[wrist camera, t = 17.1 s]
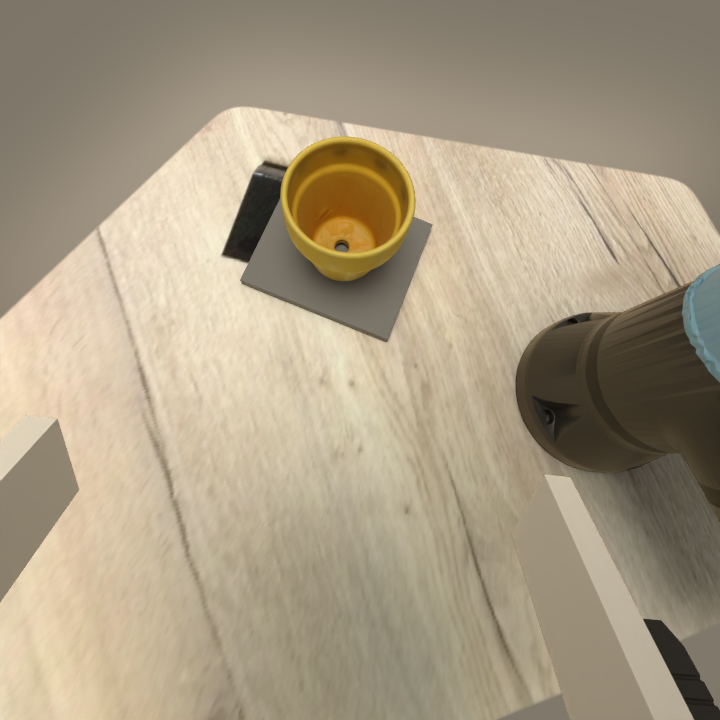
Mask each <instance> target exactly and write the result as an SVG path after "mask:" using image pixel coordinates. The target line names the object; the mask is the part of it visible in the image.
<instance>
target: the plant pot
mask: <svg viewBox="0 0 720 720" xmlns="http://www.w3.org/2000/svg"><path fill="white" fill-rule="evenodd" d="M281 206H282V211H283V216H284V221H285V224H286V228H287V231H288V233H289V236H290V238H291V240H292V242H293V243H294V245H295V246H296V248H297V249H298V250H299V251H300V252H301V253H302V254H303V255H304V256H305V257H306V258H307V259H308V260H310V261H311V262H312V263H313V265H314V266H315V268H316V269H317V270H318V271H319V272H320V273H321V274H323V275H324V276H326V277H327V278H330V279H332V280H336V281H353V280H356V279H359V278H361V277H363V276H364V275H366V274H367V273H368V272H369V271H370V270H371V269H374V268H377V267H378V266H380V265H382V264H384V263H385V262H386V261H388V260H389V259H390V258H391V257H392V256H393V255H394V254H395V253H396V252H397V251H398V249H399V248H400V246H401V244H402V243H403V241H404V239H405V237H406V235H407V233H408V230H409V228H410V225H411V223H412V220H413V216H414V212H415V191H414V187H413V183H412V180H411V178H410V176H409V174H408V172H407V170H406V169H405V167H404V166H403V164H402V163H401V162H400V161H399V160H398V159H397V158H396V157H395V156H394V155H393V154H392V153H391V152H389V151H388V150H386V149H385V148H383V147H381V146H380V145H378V144H375V143H373V142H371V141H368V140H365V139H361V138H355V137H334V138H328V139H325V140H321V141H318V142H316V143H314V144H312V145H310V146H308V147H307V148H306V149H304V150H303V151H302V152H300V153H299V154H298V155H297V156H296V157H295V158H294V160H293V161H292V162H291V164H290V165H289V167H288V169H287V171H286V173H285V175H284V178H283V181H282V186H281ZM338 243H344V244H346V245H347V246H348V251H347V252H339V251H336V249H335V246H336V245H337V244H338Z"/></svg>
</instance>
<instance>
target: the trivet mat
mask: <svg viewBox="0 0 720 720" xmlns="http://www.w3.org/2000/svg"><path fill="white" fill-rule="evenodd" d="M431 227H432V224H430V223H428V222H425V221H423V220H420V219H418V218H415V217H413V220H412V223H411V225H410V228H409V230H408V233H407V235H406V237H405V239H404V241H403V243H402V244H401V246H400V248H399V249H398V251H397V252H396V253H395V254H394V255H393V256H392V257H391V258H390V259H389V260H388V261H386V262H385V263H384V264H382V265H380V266H378V267H377V268H374V269H371V270H370V271H369V272H368V273H367V274H366V275H364V276H363V277H361V278H359V279H356V280H353V281H336V280H332V279H330V278H327V277H326V276H324V275H323V274H321V273H320V272H319V271H318V270H317V269H316V268H315V266H314V265H313V263H312V262H311V261H310V260H308V259H307V258H306V257H305V256H304V255H303V254H302V253H301V252H300V251H299V250H298V249H297V248H296V246H295V245H294V243H293V242H292V240H291V238H290V236H289V233H288V231H287V228H286V224H285V221H284V216H283V211H282V206H281V198H280V200H279V202H278V204H277V206H276V208H275V210H274V212H273V214H272V216H271V218H270V220H269V222H268V225H267V227H266V229H265V231H264V233H263V235H262V237H261V239H260V241H259V243H258V245H257V247H256V249H255V251H254V253H253V255H252V257H251V259H250V261H249V263H248V265H247V267H246V269H245V271H244V273H243V275H242V277H241V279H240V280H241V282H242V284H244V285H247V286H249V287H251V288H254V289H256V290H259V291H261V292H264V293H266V294H269V295H271V296H274V297H276V298H279V299H281V300H284V301H286V302H289V303H291V304H294V305H296V306H298V307H301V308H303V309H306V310H308V311H311V312H313V313H316V314H318V315H321V316H323V317H326V318H328V319H331V320H333V321H336V322H338V323H340V324H343V325H345V326H348V327H350V328H353V329H355V330H358V331H360V332H363V333H365V334H368V335H370V336H373V337H375V338H378V339H380V340H383V341H385V342H387V340H388V338H389V335H390V333H391V330H392V327H393V325H394V322H395V320H396V317H397V315H398V312H399V309H400V307H401V304H402V302H403V299H404V297H405V294H406V292H407V289H408V286H409V284H410V281H411V279H412V276H413V274H414V271H415V268H416V266H417V263H418V261H419V258H420V256H421V253H422V251H423V248H424V245H425V243H426V240H427V238H428V235H429V233H430V230H431ZM335 249H336V251H339V252H347V251H348V246H347V245H346V244H344V243H338V244H337V245H336V246H335Z"/></svg>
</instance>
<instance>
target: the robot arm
mask: <svg viewBox="0 0 720 720" xmlns="http://www.w3.org/2000/svg"><path fill="white" fill-rule="evenodd" d="M516 392H517V400H518V404H519V408H520V411H521V414H522V417H523V419H524V422H525V424H526V426H527V427H528V429H529V431H530V432H531V434H532V435H533V437H534V438H535V439H536V441H537V442H538V443H539V444H540V445H541V446H542V447H543V448H544V449H545V450H546V451H547V452H548V453H550V454H551V455H552V456H554V457H555V458H557V459H558V460H560V461H562V462H563V463H565V464H568V465H570V466H572V467H575V468H578V469H582V470H587V471H596V472H622V471H628V470H632V469H635V468H638V467H640V466H643V465H645V464H646V463H648V462H650V461H652V460H654V459H657V458H659V457H661V456H664V455H666V454H668V453H681V454H682V455H683V457H684V459H685V461H686V462H687V464H688V466H689V468H690V469H691V471H692V473H693V475H694V476H695V478H696V480H697V481H698V483H699V485H700V487H701V488H702V490H703V492H704V494H705V496H706V498H707V500H708V502H709V503H710V505H711V507H712V509H713V510H714V512H715V514H716V516H717V518H718V519H719V521H720V264H719V265H717V266H715V267H713V268H711V269H709V270H707V271H706V272H704V273H702V274H701V275H699V276H698V277H697V278H696V280H695V281H692V282H690V283H688V284H685V285H683V286H681V287H679V288H676V289H674V290H672V291H669V292H667V293H665V294H663V295H660V296H658V297H656V298H653V299H651V300H649V301H647V302H644V303H642V304H640V305H637V306H635V307H633V308H630V309H629V310H627V311H624V312H602V313H583V314H577V315H573V316H570V317H567V318H565V319H562V320H561V321H559V322H557V323H555V324H553V325H551V326H549V327H547V328H546V329H544V330H543V331H542V332H540V333H539V334H538V335H537V336H536V337H535V338H534V339H533V340H532V341H531V342H530V344H529V345H528V347H527V348H526V350H525V352H524V354H523V356H522V358H521V361H520V364H519V367H518V372H517V379H516ZM78 491H79V487H78V484H77V481H76V477H75V474H74V471H73V468H72V464H71V461H70V458H69V455H68V451H67V448H66V445H65V442H64V438H63V435H62V432H61V429H60V425H59V422H58V419H57V418H49V417H40V416H31V415H26V416H25V417H24V418H23V419H22V420H21V421H20V422H19V423H18V424H17V425H16V426H15V427H14V428H13V429H12V430H11V431H10V432H9V433H8V434H7V435H6V436H5V437H4V438H3V439H2V440H1V441H0V602H1V601H2V599H3V598H4V596H5V595H6V593H7V592H8V591H9V589H10V588H11V586H12V585H13V583H14V582H15V581H16V579H17V578H18V576H19V575H20V573H21V572H22V571H23V569H24V568H25V566H26V565H27V563H28V562H29V561H30V559H31V558H32V556H33V555H34V553H35V552H36V551H37V549H38V548H39V546H40V545H41V543H42V542H43V541H44V539H45V538H46V536H47V535H48V533H49V532H50V531H51V529H52V528H53V526H54V525H55V523H56V522H57V521H58V519H59V518H60V516H61V515H62V514H63V512H64V511H65V509H66V508H67V506H68V505H69V504H70V502H71V501H72V499H73V498H74V496H75V495H76V494H77V492H78ZM512 538H513V541H514V544H515V548H516V551H517V554H518V557H519V560H520V563H521V566H522V570H523V573H524V576H525V579H526V582H527V585H528V589H529V592H530V595H531V598H532V601H533V604H534V608H535V611H536V614H537V617H538V620H539V623H540V627H541V630H542V633H543V636H544V639H545V642H546V645H547V649H548V652H549V655H550V658H551V661H552V664H553V668H554V671H555V674H556V677H557V680H558V683H559V687H560V690H561V693H562V696H563V699H564V702H565V705H566V709H567V712H568V715H569V718H570V720H720V710H719V708H718V707H717V706H715V705H714V703H713V701H714V700H713V698H712V696H711V694H710V692H709V691H708V689H707V687H706V685H705V683H704V682H703V681H701V680H700V674H699V673H698V671H697V669H696V668H695V665H694V664H693V662H692V660H691V659H690V657H689V655H688V653H687V651H686V649H685V648H684V646H683V645H682V644H681V643H680V641H679V640H678V639H677V638H676V637H675V636H674V635H673V633H672V632H671V631H670V630H669V629H668V628H667V627H666V625H665V624H664V623H663V622H662V621H661V620H650V619H642V617H641V615H640V613H639V611H638V609H637V607H636V605H635V603H634V601H633V599H632V597H631V595H630V593H629V591H628V589H627V587H626V585H625V583H624V581H623V579H622V577H621V575H620V573H619V572H618V570H617V568H616V566H615V564H614V562H613V560H612V558H611V556H610V554H609V552H608V550H607V548H606V546H605V544H604V542H603V540H602V538H601V536H600V534H599V532H598V530H597V528H596V526H595V524H594V523H593V521H592V519H591V517H590V515H589V513H588V511H587V509H586V507H585V505H584V503H583V501H582V499H581V497H580V495H579V493H578V491H577V489H576V487H575V485H574V483H573V481H572V479H571V477H564V476H555V475H546V474H544V475H543V477H542V479H541V481H540V483H539V485H538V487H537V488H536V490H535V492H534V494H533V496H532V498H531V499H530V501H529V503H528V505H527V507H526V509H525V511H524V512H523V514H522V516H521V518H520V520H519V522H518V524H517V525H516V527H515V529H514V531H513V533H512Z"/></svg>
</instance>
